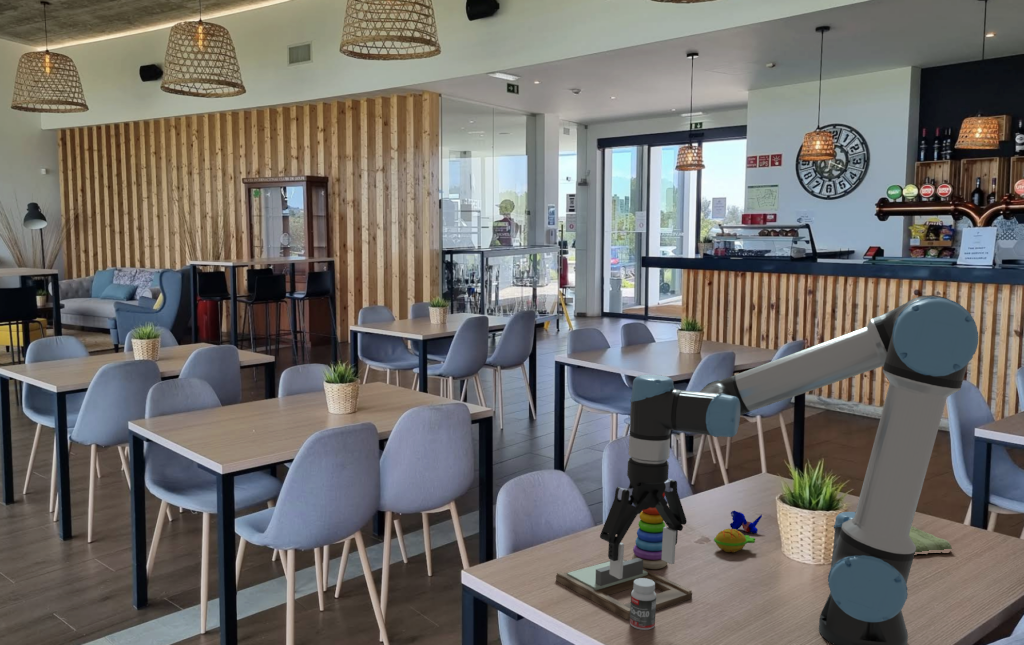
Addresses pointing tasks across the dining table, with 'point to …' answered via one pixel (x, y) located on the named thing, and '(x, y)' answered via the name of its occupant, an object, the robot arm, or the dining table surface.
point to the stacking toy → (650, 539)
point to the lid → (600, 575)
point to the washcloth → (927, 541)
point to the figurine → (743, 522)
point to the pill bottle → (643, 604)
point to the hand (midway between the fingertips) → (642, 569)
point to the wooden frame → (664, 599)
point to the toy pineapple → (732, 540)
